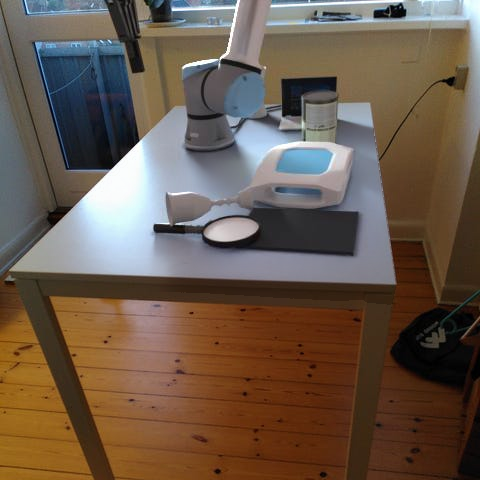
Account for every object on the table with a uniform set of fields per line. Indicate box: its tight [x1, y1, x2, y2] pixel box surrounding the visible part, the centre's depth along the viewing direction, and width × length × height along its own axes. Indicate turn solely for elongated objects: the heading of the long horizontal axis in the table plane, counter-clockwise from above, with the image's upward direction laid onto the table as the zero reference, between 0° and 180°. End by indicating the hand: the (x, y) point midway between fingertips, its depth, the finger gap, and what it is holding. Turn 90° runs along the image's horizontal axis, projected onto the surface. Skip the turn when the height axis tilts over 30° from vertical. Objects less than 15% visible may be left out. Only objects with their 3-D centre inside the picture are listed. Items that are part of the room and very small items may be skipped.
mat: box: [234, 206, 360, 257], centre depth 110 cm, size 18×24×1 cm
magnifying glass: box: [152, 214, 261, 250], centre depth 110 cm, size 12×24×2 cm, turn 73°
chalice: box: [165, 186, 254, 226], centre depth 111 cm, size 7×7×18 cm
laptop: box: [278, 75, 338, 131], centre depth 164 cm, size 18×12×13 cm
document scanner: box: [249, 140, 354, 210], centre depth 127 cm, size 21×28×6 cm
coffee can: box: [301, 90, 340, 144], centre depth 147 cm, size 10×10×14 cm
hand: (138, 72), depth 119 cm, fingers closed
